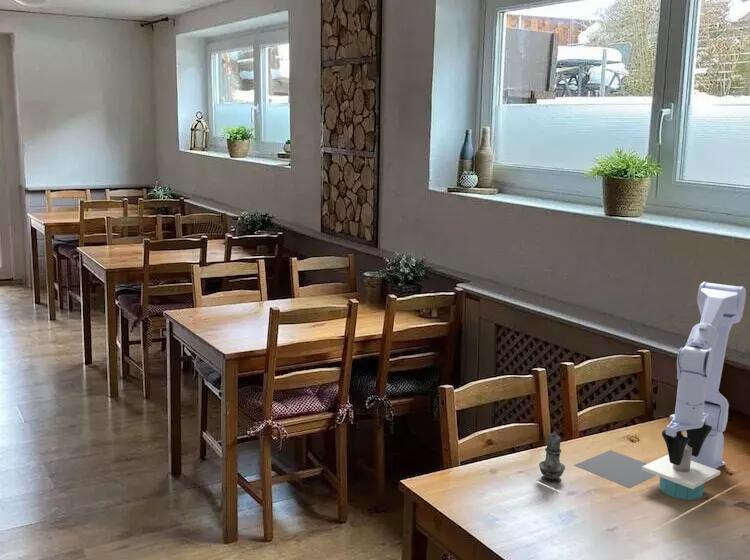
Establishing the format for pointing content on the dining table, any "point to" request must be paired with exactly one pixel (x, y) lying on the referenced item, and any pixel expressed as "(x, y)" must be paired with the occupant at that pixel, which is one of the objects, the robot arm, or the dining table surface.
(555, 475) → the dark grey turned figure
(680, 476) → the lid
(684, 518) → the dining table surface
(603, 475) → the mat
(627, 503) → the dining table surface
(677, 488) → the bowl
